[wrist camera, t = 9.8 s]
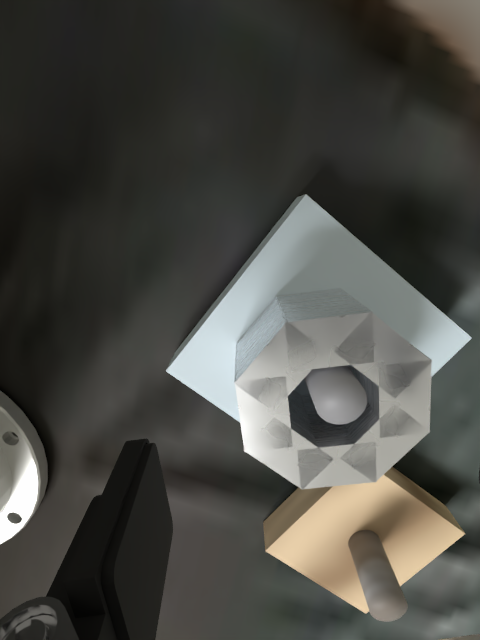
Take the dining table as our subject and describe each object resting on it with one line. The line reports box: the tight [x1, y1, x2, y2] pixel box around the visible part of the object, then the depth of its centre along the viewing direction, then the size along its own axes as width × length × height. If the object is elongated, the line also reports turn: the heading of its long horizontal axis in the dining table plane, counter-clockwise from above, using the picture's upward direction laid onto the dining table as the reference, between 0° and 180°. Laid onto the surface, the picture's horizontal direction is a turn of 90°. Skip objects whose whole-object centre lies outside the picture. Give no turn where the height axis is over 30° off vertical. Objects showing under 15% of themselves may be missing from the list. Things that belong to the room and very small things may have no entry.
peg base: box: [166, 194, 471, 425], centre depth 15 cm, size 10×10×7 cm
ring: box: [234, 288, 432, 490], centre depth 15 cm, size 7×7×4 cm
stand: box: [263, 467, 465, 621], centre depth 19 cm, size 8×8×6 cm
